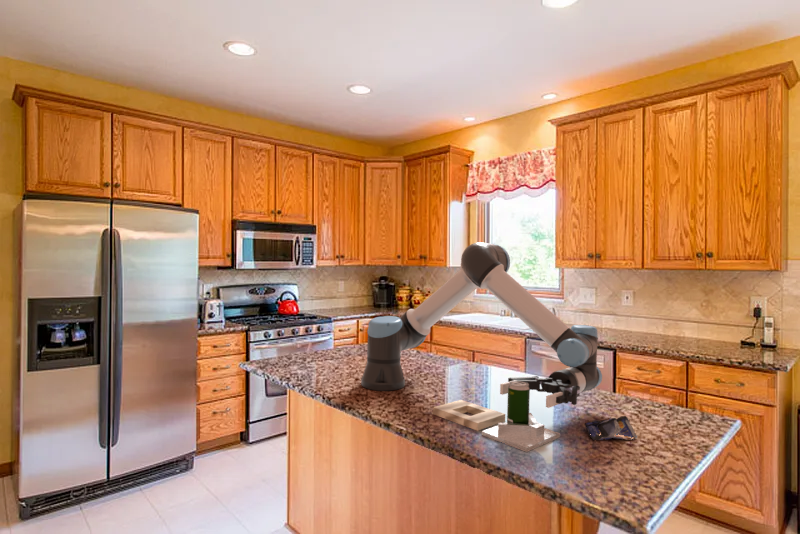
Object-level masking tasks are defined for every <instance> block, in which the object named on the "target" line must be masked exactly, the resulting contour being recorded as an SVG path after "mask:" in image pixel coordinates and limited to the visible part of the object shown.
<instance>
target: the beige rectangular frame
mask: <svg viewBox="0 0 800 534" xmlns="http://www.w3.org/2000/svg"><path fill="white" fill-rule="evenodd" d="M466 413H468V414H471V415H468V414H466ZM432 415H433V416H436V417H440V418H442V419H445V420H447V421H450V422H453V423H456V424H458V425H460V426H464V427H466V428H469V429H472V430H474V431H477V432H478V431H482V430H483V429H484V430H485V429H486V428H487V429H488V428H491V427H492V426H493V427H494V426H497V425H498V423H505V422H506V413H503V412H501V411H497V410H494V409H491V408H488V407H486V406H481V405H479V404H475V403H472V402H469V401H466V400H463V399H459V400H455V401H452V402H451V401H450V402H448V403H444V404H440V405H436V406H433V409H432Z"/></svg>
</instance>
